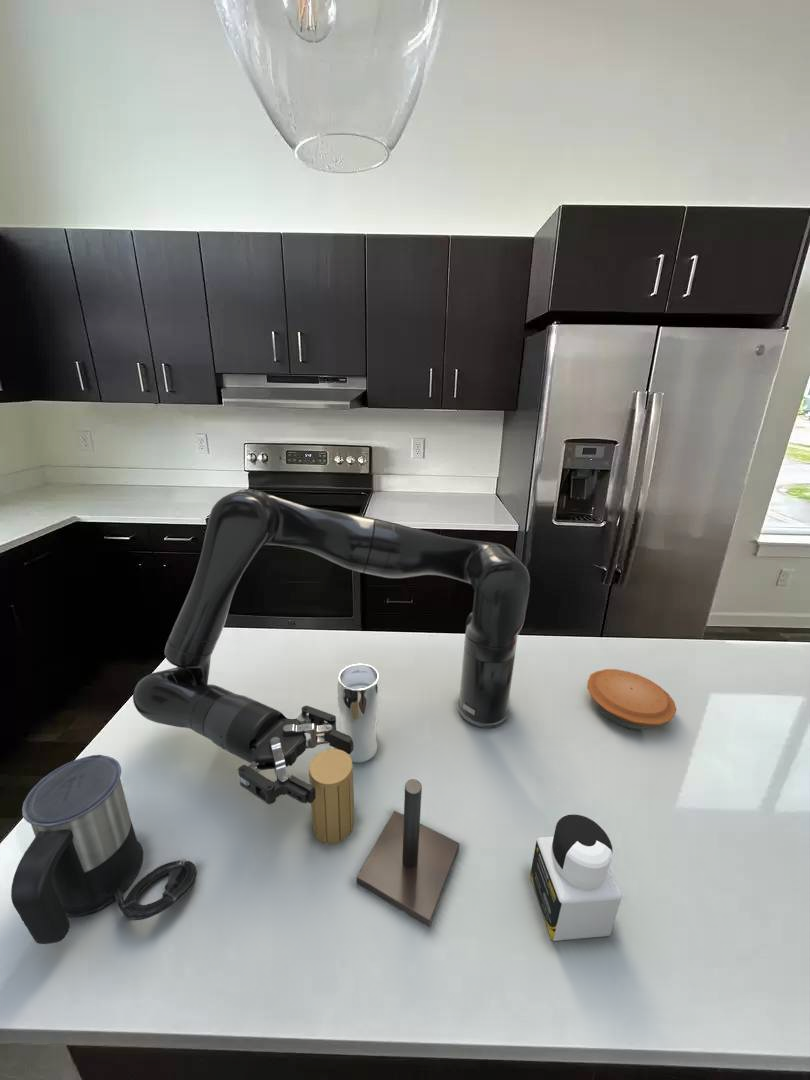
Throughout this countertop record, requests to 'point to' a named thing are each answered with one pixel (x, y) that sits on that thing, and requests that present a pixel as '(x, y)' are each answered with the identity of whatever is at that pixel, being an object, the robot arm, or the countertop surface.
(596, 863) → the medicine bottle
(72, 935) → the countertop surface
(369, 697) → the chrome tumbler
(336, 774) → the grooved tan cylinder
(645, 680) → the pie
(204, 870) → the countertop surface
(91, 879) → the milk frother
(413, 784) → the peg stand
